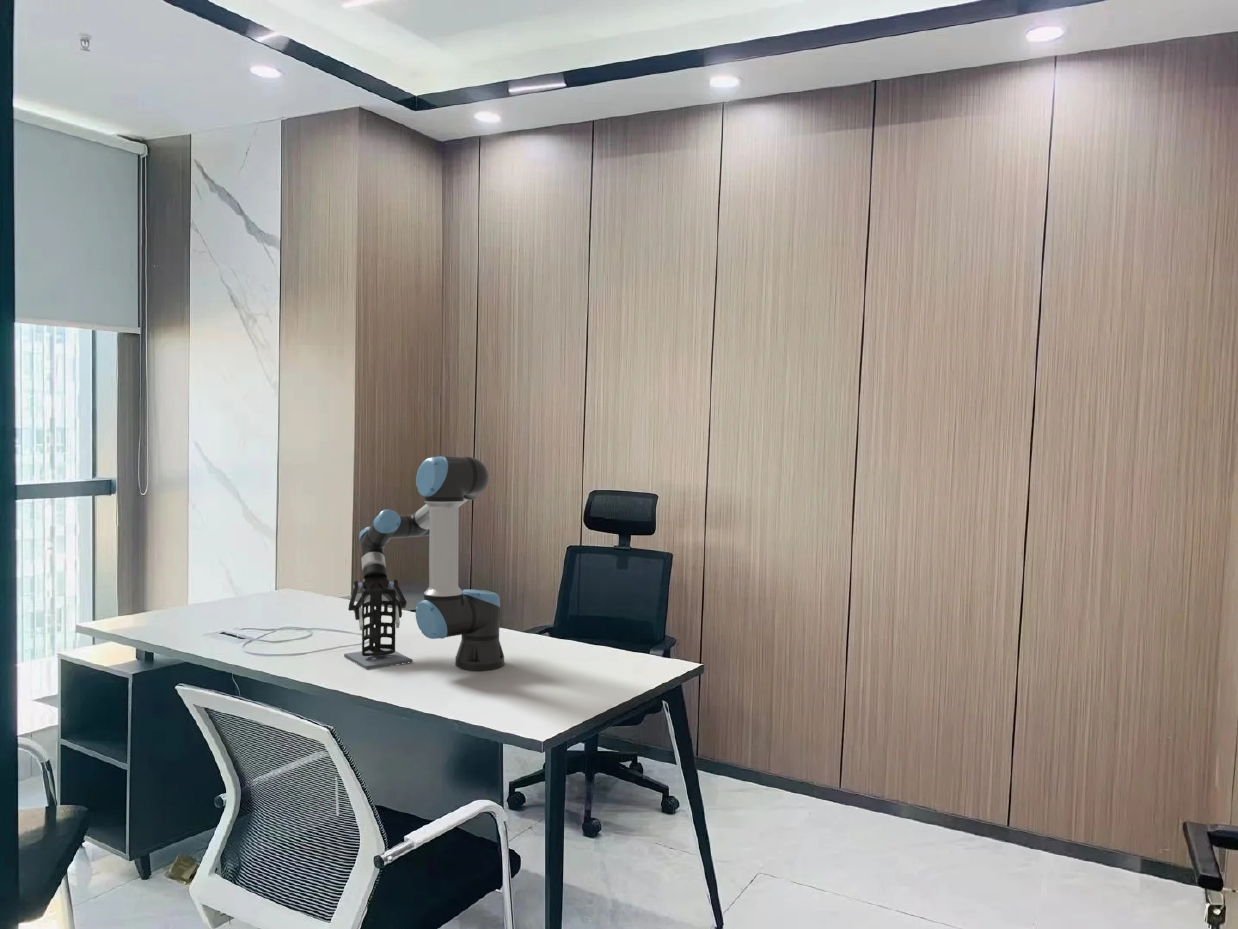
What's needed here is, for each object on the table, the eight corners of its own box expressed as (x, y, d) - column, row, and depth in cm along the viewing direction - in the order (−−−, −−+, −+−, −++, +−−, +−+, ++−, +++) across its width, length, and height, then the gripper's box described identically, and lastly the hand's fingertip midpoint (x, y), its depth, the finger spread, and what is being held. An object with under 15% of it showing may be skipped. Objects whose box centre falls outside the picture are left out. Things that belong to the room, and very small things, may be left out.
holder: (367, 658, 273) (369, 593, 272) (355, 654, 278) (356, 590, 277) (399, 653, 281) (400, 590, 280) (386, 648, 286) (387, 586, 285)
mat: (412, 662, 277) (412, 659, 277) (366, 669, 268) (366, 666, 268) (388, 650, 291) (388, 647, 291) (344, 656, 282) (344, 653, 282)
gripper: (408, 574, 297) (415, 631, 283) (336, 577, 288) (340, 635, 275) (411, 561, 292) (418, 617, 278) (338, 563, 283) (342, 622, 270)
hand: (379, 626), depth 276 cm, fingers closed on holder, 10 cm apart
